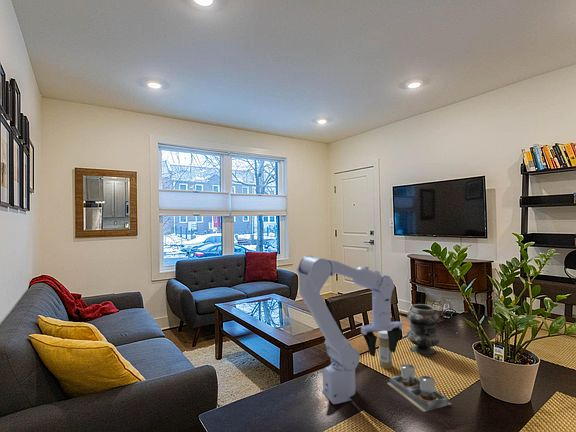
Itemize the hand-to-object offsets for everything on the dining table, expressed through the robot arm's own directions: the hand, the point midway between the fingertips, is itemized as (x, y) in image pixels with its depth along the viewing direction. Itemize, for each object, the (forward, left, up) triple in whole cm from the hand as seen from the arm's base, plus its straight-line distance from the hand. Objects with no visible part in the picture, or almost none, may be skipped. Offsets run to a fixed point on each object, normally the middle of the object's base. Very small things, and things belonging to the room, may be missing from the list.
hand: (382, 353), depth 103 cm
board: (+5, -10, -10) cm, 15 cm away
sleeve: (+5, -14, -9) cm, 17 cm away
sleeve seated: (+5, -6, -9) cm, 12 cm away
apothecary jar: (+30, +15, -10) cm, 35 cm away
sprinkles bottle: (+7, +8, -10) cm, 15 cm away
